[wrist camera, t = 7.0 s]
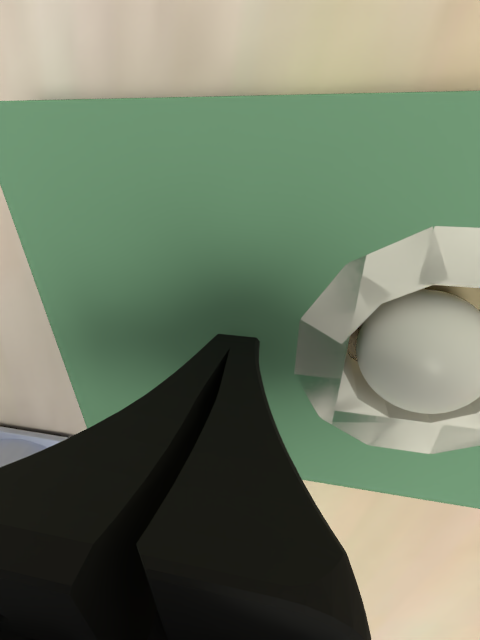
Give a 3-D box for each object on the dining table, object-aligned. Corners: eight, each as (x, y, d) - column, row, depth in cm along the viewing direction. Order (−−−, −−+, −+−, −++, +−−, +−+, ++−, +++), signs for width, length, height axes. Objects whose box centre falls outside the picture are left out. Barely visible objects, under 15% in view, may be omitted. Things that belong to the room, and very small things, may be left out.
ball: (440, 373, 13) (343, 390, 13) (438, 275, 12) (334, 292, 12) (535, 426, 9) (397, 451, 9) (541, 287, 8) (389, 312, 8)
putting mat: (118, 407, 18) (93, 445, 16) (37, 107, 11) (-30, 101, 9) (472, 458, 15) (499, 511, 13) (679, 96, 8) (814, 83, 6)
